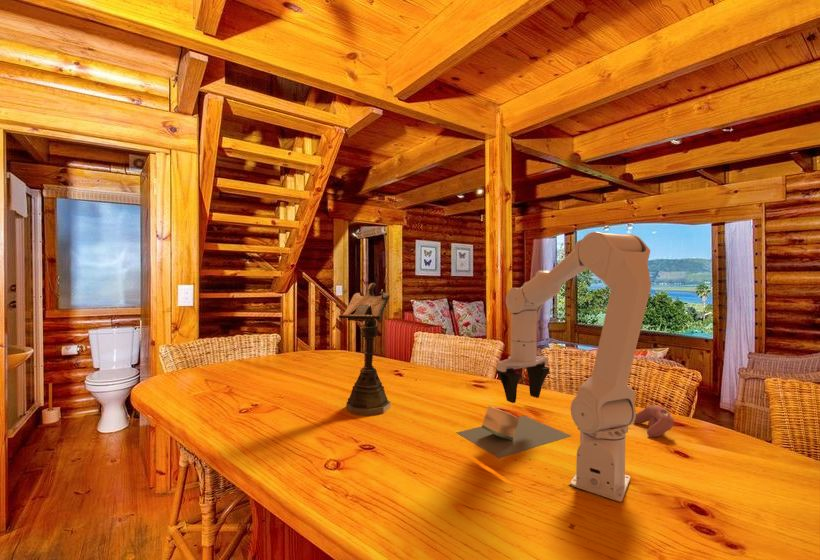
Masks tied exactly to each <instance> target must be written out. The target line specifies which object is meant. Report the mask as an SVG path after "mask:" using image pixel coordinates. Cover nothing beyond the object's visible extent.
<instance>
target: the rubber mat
mask: <svg viewBox="0 0 820 560" xmlns="http://www.w3.org/2000/svg"><path fill="white" fill-rule="evenodd" d="M517 417H518V418H519V422H518V425H517V428H516V431H515V435H514V438H513V440H509V439H506V438H503V437H500V436H497V435H495V434H493V433H491V432H489V431H487V430H486V429H484V428H482V425H481V426H478V427H474V428H469V429H466V430H460V431H457V432H455V433H456V434H458V435H459V436H461V437H463V438H464V439H466V440H467V441H469V442H471V443H473V444H474V445H476V446H477V447H479V448H481V449H482V450H485V452H486V451H487V452H488V453H490V454H491V455H493V456H495V457H497V458H498V459H501V458H505V457H507V456H511V455H515V454H517V453H521V452H525V451H527V450H531V449H534V448H538V447H540V446H544V445H547V444H551V443H553V442H557V441H560V440H564V439H567V438H570V437H572V435H571V434H569V433H566V432H564V431H562V430H559V429H556V428H555V427H552V426H550V425H547V424H546V423H542V422H540V421H537V420H535V419H533V418H530V417H528V416H525V415H523V416H520V417H519V416H517Z"/></svg>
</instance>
